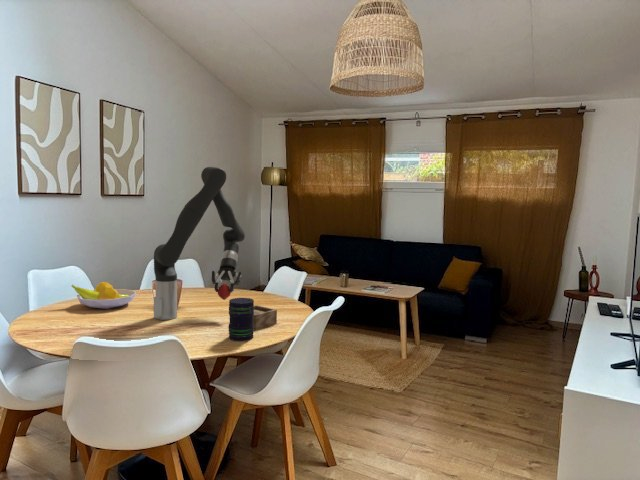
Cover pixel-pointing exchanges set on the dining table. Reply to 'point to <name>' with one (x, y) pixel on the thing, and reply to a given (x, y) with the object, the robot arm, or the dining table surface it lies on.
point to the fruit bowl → (104, 296)
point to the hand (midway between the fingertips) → (223, 291)
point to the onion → (224, 291)
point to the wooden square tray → (264, 317)
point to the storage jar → (241, 319)
